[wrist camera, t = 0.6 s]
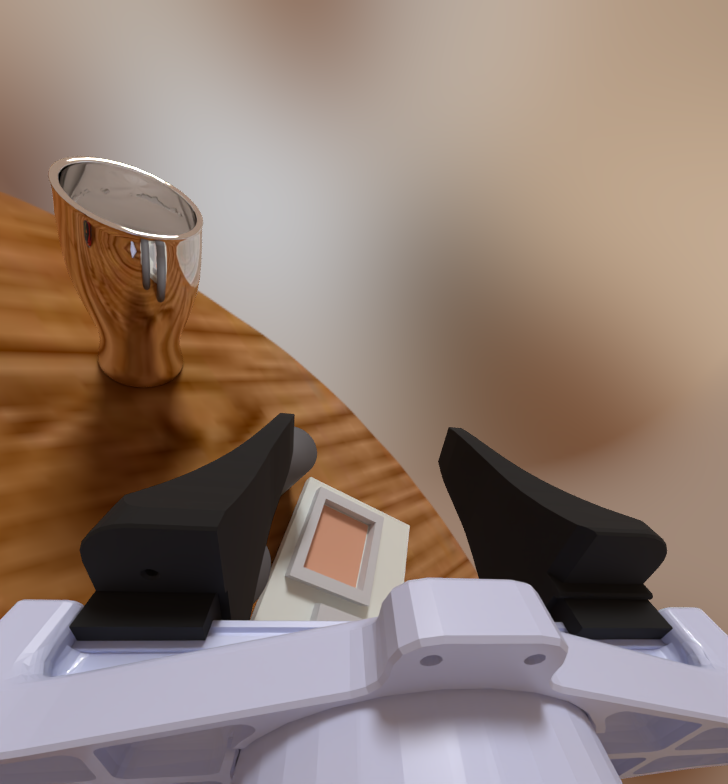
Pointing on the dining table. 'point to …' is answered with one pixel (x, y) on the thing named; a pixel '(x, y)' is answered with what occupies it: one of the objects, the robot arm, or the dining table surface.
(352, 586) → the board
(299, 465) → the peg
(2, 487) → the dining table surface
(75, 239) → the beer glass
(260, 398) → the dining table surface
